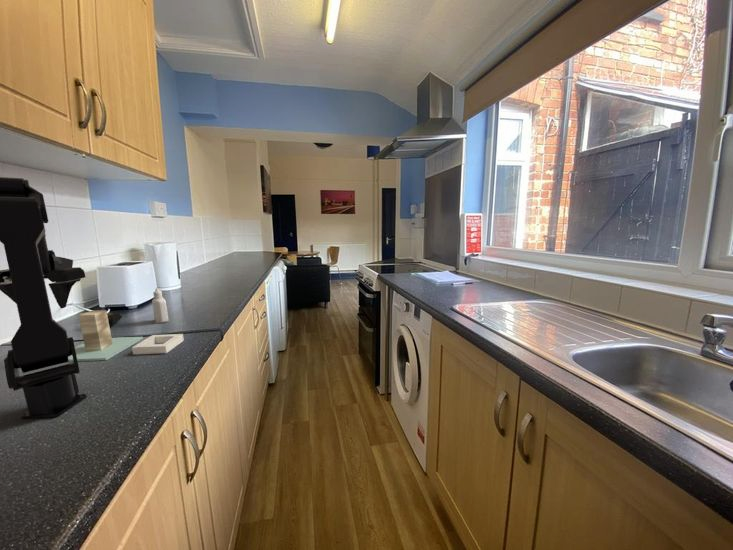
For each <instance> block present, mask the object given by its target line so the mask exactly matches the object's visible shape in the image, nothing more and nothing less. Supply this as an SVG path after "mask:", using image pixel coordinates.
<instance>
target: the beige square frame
mask: <svg viewBox="0 0 733 550" xmlns="http://www.w3.org/2000/svg"><path fill="white" fill-rule="evenodd" d="M184 341H185V340H184V333H175V334H174V333H173V334H172V333H171V334H152V335H150V336H149V337H147V338H146V339H144V340H141V341H139V342H138V343H137V344H134V346H132V347H131V349H132V355H133V356H134V355H153V354H156V355H157V354H167V353H169V352H170V351H172V350H174V348H175V347H177V346H178V345H179V344H181V343H183V342H184Z"/></svg>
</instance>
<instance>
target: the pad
mask: <svg viewBox="0 0 733 550" xmlns="http://www.w3.org/2000/svg"><path fill="white" fill-rule="evenodd" d="M111 338H112V343H113V344H112V345H110V346H108V347H106V348H105V349H103V350H94V351H86V350H85V345H84V342H83V343H81V344H79V345H77V346H75V351H76V355H77V360H78V362H91V361H93V362H94V361H95V362H96V361H107V360H109V359H110V358H112V357H115V356H116V355H117V354H119V353H120V352H123V351H124V350H126V349H127V348H129V347H131V346H133V345H136V343H139V342H141V341H142V340H143V339H144V336H125V337H124V336H123V337H122V336H121V337H111ZM68 359H69V362H68V363H74V361H73V356H72V355H71V356H68Z"/></svg>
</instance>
